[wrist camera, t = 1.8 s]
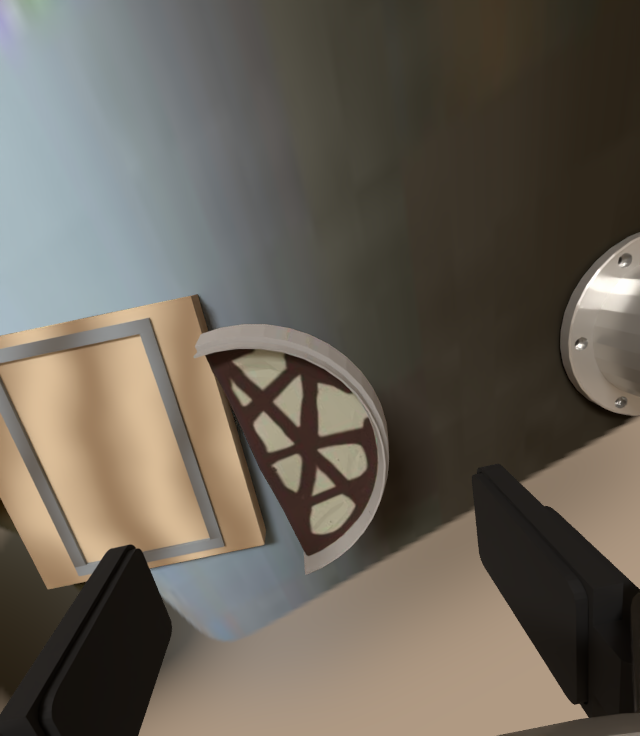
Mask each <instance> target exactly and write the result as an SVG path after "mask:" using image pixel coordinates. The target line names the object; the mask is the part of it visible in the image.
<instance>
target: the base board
mask: <svg viewBox="0 0 640 736" xmlns="http://www.w3.org/2000/svg"><path fill="white" fill-rule="evenodd" d="M206 332H208V328H207V325H206V322H205V318H204V315H203V311H202V308H201V304H200V301H199V297H198V294H197V295H192V296H187V297H183V298H178V299H173V300H168V301H164V302H159V303H154V304H149V305H145V306H140V307H135V308H130V309H126V310H121V311H116V312H111V313H107V314H102V315H97V316H92V317H88V318H83V319H78V320H73V321H69V322H64V323H59V324H54V325H50V326H45V327H40V328H35V329H31V330H26V331H21V332H16V333H12V334H7V335H2V336H0V498H1V500H2V501H3V503H4V505H5V507H6V509H7V511H8V513H9V515H10V517H11V519H12V521H13V523H14V525H15V527H16V529H17V530H18V532H19V534H20V536H21V538H22V540H23V542H24V544H25V546H26V548H27V550H28V552H29V554H30V556H31V558H32V559H33V561H34V563H35V565H36V567H37V569H38V571H39V573H40V575H41V577H42V579H43V581H44V583H45V585H46V586H47V589H52V588H56V587H61V586H66V585H71V584H76V583H81V582H86V581H88V579H89V578H90V576H91V575H92V573H93V571H94V570H95V568H96V567H97V565H98V564H99V562H100V561H101V559H102V558H103V556H104V555H105V553H106V552H107V551H108V550H109V549H111V548H116V547H120V546H125V545H129V544H131V545H134V546H135V547H136V549H137V548H139V549H141V550H142V552H143V554H144V557H145V559H146V561H147V564H148V566H149V568H154V567H159V566H163V565H168V564H173V563H178V562H183V561H188V560H193V559H197V558H202V557H207V556H212V555H217V554H222V553H227V552H231V551H236V550H241V549H246V548H251V547H256V546H261V545H264V543H265V535H266V528H265V525H264V521H263V518H262V514H261V511H260V507H259V504H258V500H257V497H256V494H255V490H254V487H253V483H252V480H251V476H250V473H249V469H248V466H247V463H246V459H245V456H244V452H243V449H242V445H241V442H240V439H239V435H238V432H237V428H236V425H235V421H234V418H233V414H232V411H231V408H230V404H229V401H228V399H227V397H226V395H225V393H224V391H223V389H222V387H221V385H220V383H219V382H218V380H217V378H216V377H215V375H214V374H213V372H212V370H211V367H210V365H209V363H208V361H207V359H206V356H205V355H204V356H201V357H198V358H194V357H193V356H194V355H195V354H196V353H197V350H196V348H195V345H196V343H197V341H198V339H199V337H200V335H201V334H203V333H206Z"/></svg>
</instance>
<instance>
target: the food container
mask: <svg viewBox="0 0 640 736" xmlns="http://www.w3.org/2000/svg"><path fill="white" fill-rule="evenodd" d="M195 348H196V350H197V353H196V354H195V355H194V356H193V357H194V358H198V357H201V356H204V355H205V356H206V359H207V361H208V363H209V365H210V367H211V370H212V372H213V374H214V375H215V377H216V378H217V380H218V382H219V383H220V385H221V387H222V389H223V391H224V393H225V395H226V397H227V399H228V401H229V403H230V405H231V407H232V409H233V411H234V413H235V415H236V418H237V420H238V422H239V424H240V426H241V428H242V430H243V432H244V434H245V437H246V439H247V441H248V444H249V446H250V448H251V450H252V452H253V455H254V457H255V459H256V461H257V463H258V466H259V468H260V470H261V472H262V473H263V475H264V477H265V479H266V480H267V482H268V484H269V485H270V487H271V489H272V490H273V492H274V494H275V496H276V498H277V499H278V501H279V503H280V505H281V507H282V509H283V510H284V512H285V514H286V516H287V518H288V520H289V522H290V524H291V526H292V528H293V530H294V532H295V534H296V536H297V538H298V540H299V542H300V544H301V546H302V548H303V550H304V561H305V574H306V575H307V574H309V573H311V572H314V571H316V570H318V569H320V568H322V567H324V566H326V565H327V564H329V563H330V562H332V561H334V560H335V559H337V558H338V557H339V556H341V555H342V554H343V553H344V552H345V551H347V550H348V549H349V548H350V547H351V546H352V545H353V544H354V543H355V542H356V541H357V540H358V539H359V537H360V536H361V535H362V534H363V533H364V531H365V530H366V528H367V527H368V525H369V524H370V522H371V520H372V519H373V517H374V515H375V513H376V510H377V508H378V506H379V503H380V501H381V498H382V495H383V493H384V489H385V485H386V481H387V477H388V466H389V442H388V432H387V423H386V420H385V416H384V413H383V409H382V406H381V403H380V401H379V399H378V397H377V395H376V393H375V391H374V389H373V387H372V386H371V384H370V383H369V382H368V380H367V379H366V377H365V376H364V375H363V373H362V372H361V371H360V370H359V369H358V368H357V367H356V366H355V365H354V364H353V363H352V362H351V361H350V360H349V359H348V358H347V357H346V356H345V355H343V354H342V353H341V352H339V351H338V350H336V349H335V348H334V347H332V346H331V345H329V344H327V343H325V342H323V341H321V340H319V339H317V338H315V337H313V336H311V335H309V334H306V333H303V332H301V331H297V330H294V329H291V328H286V327H280V326H273V325H267V324H242V325H236V326H229V327H223V328H218V329H215V330H212V331H209V332H206V333H203V334H201V335H200V337H199V339H198V341H197V343H196V345H195Z"/></svg>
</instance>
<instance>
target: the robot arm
mask: <svg viewBox="0 0 640 736" xmlns="http://www.w3.org/2000/svg"><path fill="white" fill-rule="evenodd" d="M560 350H561V356H562V361H563V365H564V368H565V370H566V373H567V375H568V378H569V379H570V381H571V382H572V383H573V385H574V386H575V388H576V389H577V390H578V391H579V392H580V393H581V394H582V395H583V396H584V397H586V398H587V399H588V400H590V401H591V402H593V403H595V404H597V405H599V406H601V407H603V408H605V409H607V410H610V411H612V412H615V413H618V414H624V415H631V416H640V232H639V233H637V234H634V235H632V236H629V237H628V238H626V239H624V240H623V241H621V242H620V243H618V244H616V245H615V246H613V247H612V248H610V249H609V250H608V251H607V252H606V253H605V254H603V255H602V256H601V257H600V258H599V259H598V260H597V261H596V262H595V263H594V264H593V265H592V266H591V267H590V269H589V270H588V271H587V272H586V273H585V275H584V276H583V277H582V279H581V280H580V282H579V284H578V285H577V287H576V288H575V290H574V292H573V293H572V295H571V298H570V300H569V303H568V305H567V308H566V310H565V313H564V318H563V322H562V327H561V337H560ZM472 486H473V496H474V506H475V516H476V526H477V536H478V547H479V554H480V558H481V561H482V563H483V565H484V567H485V569H486V570H487V572H488V573H489V575H490V576H491V578H492V580H493V581H494V583H495V584H496V586H497V587H498V589H499V591H500V592H501V594H502V595H503V597H504V598H505V600H506V602H507V603H508V605H509V606H510V608H511V610H512V611H513V613H514V614H515V616H516V618H517V619H518V621H519V622H520V624H521V625H522V627H523V629H524V630H525V632H526V633H527V635H528V636H529V638H530V640H531V641H532V643H533V644H534V646H535V647H536V649H537V651H538V652H539V654H540V655H541V657H542V659H543V660H544V662H545V663H546V665H547V666H548V668H549V670H550V671H551V673H552V674H553V676H554V677H555V679H556V681H557V682H558V684H559V685H560V687H561V688H562V690H563V692H564V693H565V695H566V696H567V698H568V699H569V700H570V701H571V702H572V703H573V704H574V705H575V704H580V705H581V706H582V708H583V709H584V711H585V712H586V714H587V715H588V717H589V718H585V719H579V720H573V721H568V722H564V723H559V724H553V725H548V726H544V727H538V728H533V729H529V730H523V731H518V732H513V733H508V734H503V735H499V736H640V589H639V588H638V587H636V586H635V585H634V584H633V583H632V582H631V581H630V580H629V579H628V578H627V577H626V576H625V575H624V574H623V573H622V572H621V571H619V570H618V569H617V568H616V567H615V566H614V565H613V564H612V563H611V562H610V561H609V560H608V559H607V558H606V557H604V556H603V555H602V554H601V553H600V552H599V551H598V550H597V549H596V548H595V547H594V546H593V545H592V544H591V543H590V542H588V541H587V540H586V539H585V538H584V537H583V536H582V535H581V534H580V533H579V532H578V531H577V530H576V529H575V528H573V527H572V526H571V525H570V524H569V523H568V522H567V521H566V520H565V519H564V518H563V517H562V516H561V515H560V514H559V513H557V512H556V511H555V510H554V509H552V508H551V507H548V506H543V505H542V504H541V503H540V502H539V501H538V500H537V499H536V498H535V497H534V496H533V495H532V494H531V493H530V492H529V491H528V490H527V489H526V488H525V487H523V486H522V485H521V484H520V483H519V482H518V481H517V480H516V479H515V478H514V477H513V476H512V475H511V474H510V473H509V472H508V471H507V470H506V469H505V468H504V467H503V466H501V465H500V464H495V465H490V466H486V467H481V468H478V469H477V474H475V475H473V476H472ZM171 632H172V625H171V620H170V617H169V615H168V613H167V610H166V608H165V605H164V603H163V600H162V598H161V595H160V593H159V591H158V588H157V586H156V583H155V581H154V578H153V576H152V574H151V571H150V569H149V566H148V564H147V561H146V559H145V557H144V554H143V552H142V550H141V549H139V548H137V549H136V547H135V546H134V545H131V544H129V545H125V546H120V547H116V548H111V549H109V550H108V551H107V552H106V553H105V555H104V556H103V558H102V559H101V561H100V562H99V564H98V565H97V567H96V568H95V570H94V571H93V573H92V575H91V576H90V578H89V579H88V581H87V582H86V584H85V585H84V587H83V588H82V590H81V591H80V593H79V594H78V596H77V598H76V599H75V601H74V602H73V604H72V605H71V607H70V608H69V610H68V611H67V613H66V614H65V616H64V617H63V619H62V621H61V622H60V624H59V625H58V627H57V628H56V630H55V631H54V633H53V634H52V636H51V637H50V639H49V640H48V642H47V644H46V645H45V646H44V649H43V650H42V651H41V653H40V655H39V656H38V657H37V659H36V660H35V662H34V663H33V665H32V666H31V668H30V669H29V671H28V673H27V674H26V676H25V677H24V679H23V680H22V682H21V683H20V685H19V686H18V688H17V689H16V691H15V693H14V694H13V696H12V697H11V699H10V700H9V702H8V703H7V705H6V706H5V708H4V709H3V711H2V712H1V714H0V736H138V734H139V731H140V728H141V725H142V722H143V719H144V716H145V713H146V710H147V707H148V704H149V701H150V698H151V695H152V692H153V689H154V686H155V683H156V680H157V677H158V674H159V671H160V668H161V665H162V662H163V659H164V656H165V653H166V649H167V646H168V644H169V641H170V637H171Z"/></svg>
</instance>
